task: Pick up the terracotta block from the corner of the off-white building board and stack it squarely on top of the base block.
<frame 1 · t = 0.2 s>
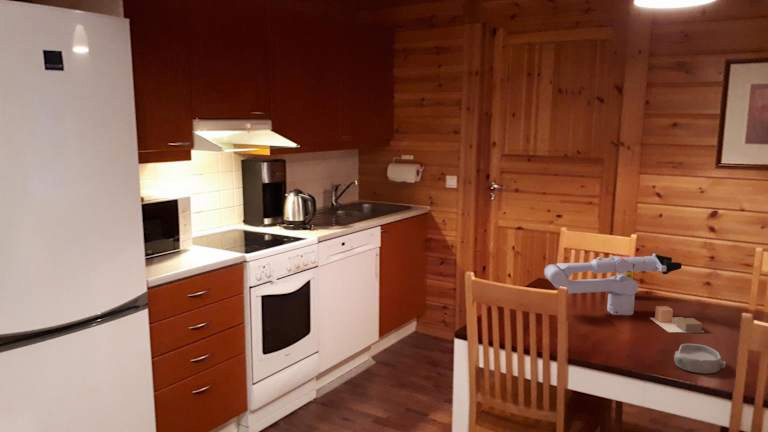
hand: (676, 262, 229), 21 cm above the table, tool horizontal, fingers open, 7 cm apart
building board: (675, 327, 219), on the table
stacking toy: (624, 297, 255), on the table
terracotta block: (663, 320, 223), point 1 cm above the table, touching building board
dish: (697, 366, 186), on the table
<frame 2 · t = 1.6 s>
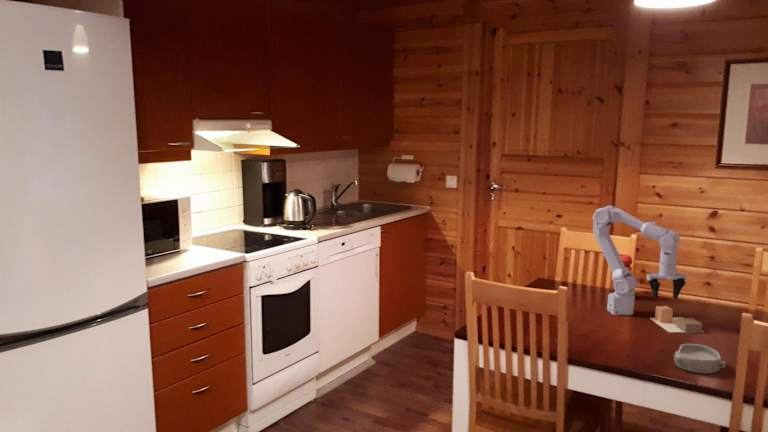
hand: (665, 298, 222), 10 cm above the table, tool pointing down, fingers open, 7 cm apart
nothing on the table moved.
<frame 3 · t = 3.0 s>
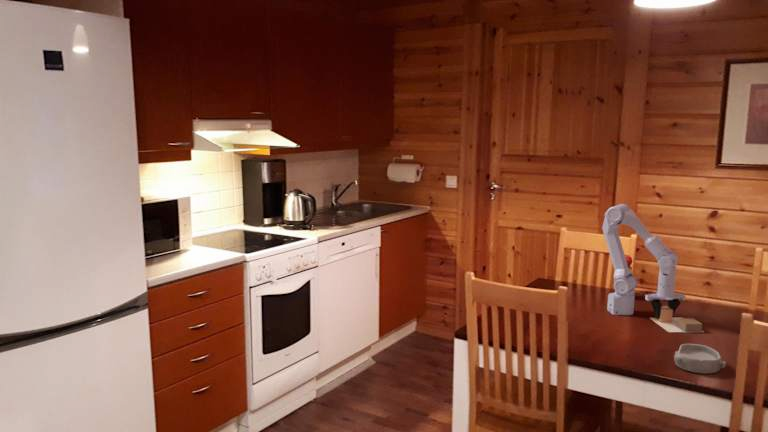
hand: (663, 318, 223), 2 cm above the table, tool pointing down, fingers closed on terracotta block, 4 cm apart
terracotta block: (663, 320, 223), point 1 cm above the table, touching building board, gripper
everything else where it was.
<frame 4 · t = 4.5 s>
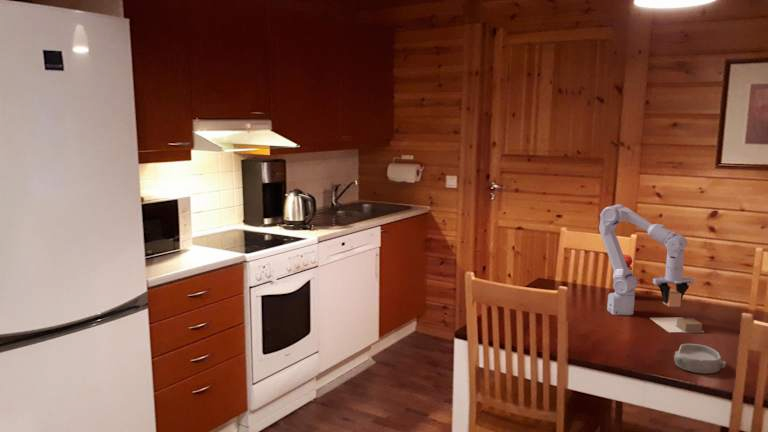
hand: (671, 302, 220), 9 cm above the table, tool pointing down, fingers closed on terracotta block, 4 cm apart
terracotta block: (671, 304, 220), point 8 cm above the table, touching gripper
everything else where it was.
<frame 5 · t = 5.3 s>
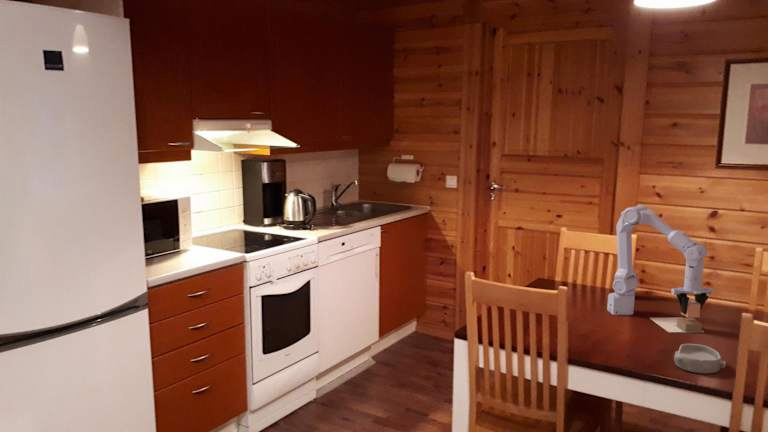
hand: (690, 313, 213), 7 cm above the table, tool pointing down, fingers closed on terracotta block, 4 cm apart
terracotta block: (690, 315, 214), point 6 cm above the table, touching gripper
everything else where it was.
when the fingers open (6 cm above the table, at t = 5.9 s): terracotta block stays where it is, resting on building board.
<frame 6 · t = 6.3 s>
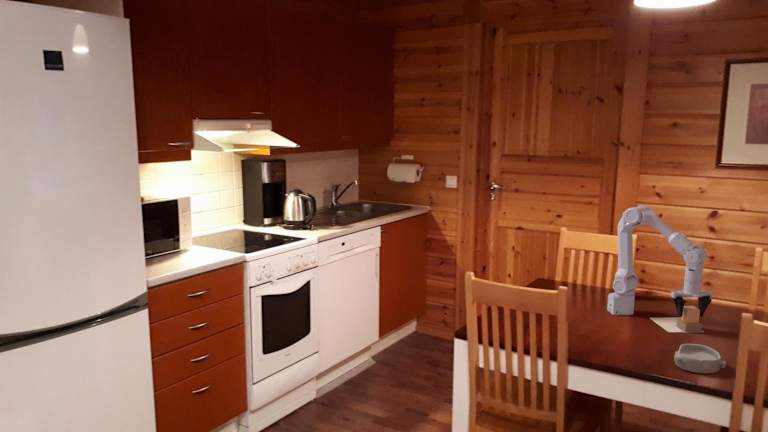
hand: (690, 316, 214), 6 cm above the table, tool pointing down, fingers open, 7 cm apart
terracotta block: (689, 321, 214), point 4 cm above the table, touching building board
everything else where it was.
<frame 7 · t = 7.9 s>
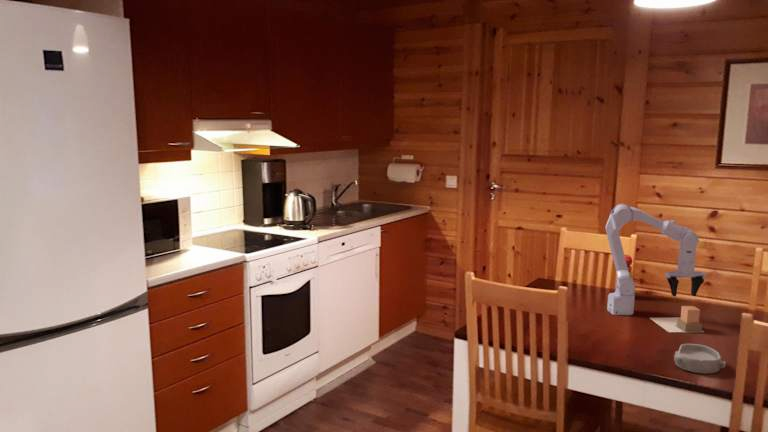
hand: (683, 295, 225), 10 cm above the table, tool pointing down, fingers open, 7 cm apart
nothing on the table moved.
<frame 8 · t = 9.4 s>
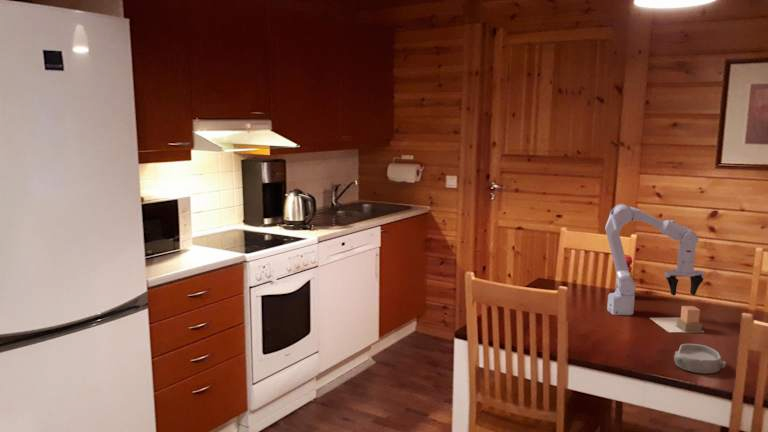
hand: (682, 294, 226), 10 cm above the table, tool pointing down, fingers open, 7 cm apart
nothing on the table moved.
at the end: terracotta block 0.1 cm from the target spot on the building board, point 4.0 cm above the building board's base; terracotta block tilted 0°; the gripper is holding nothing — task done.
